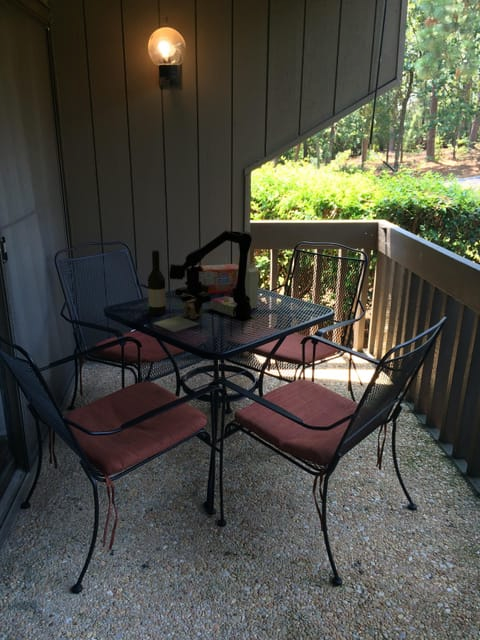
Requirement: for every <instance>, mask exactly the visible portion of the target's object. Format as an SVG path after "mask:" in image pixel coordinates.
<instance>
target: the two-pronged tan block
mask: <svg viewBox="0 0 480 640" xmlns="http://www.w3.org/2000/svg"><path fill="white" fill-rule="evenodd" d="M194 301H196V299H192V298H191V300H189V301H185V302H184V303H183V317H185V318H187V317H189V318H190V319H191V320H194V319H196V315H197V317H198V318H202V317H203V305H202V306H201V309H200V312H199V314H196V311H195V306H194ZM189 307H190V311H189Z"/></svg>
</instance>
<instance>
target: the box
mask: <svg viewBox="0 0 480 640" xmlns="http://www.w3.org/2000/svg"><path fill="white" fill-rule="evenodd" d="M200 265H201V264H200ZM196 266H197V267H198V266H199V265H196ZM191 267H192V266H190V267H189V268H191ZM201 267H203V268H204V269H203V271H199V282H201V283H202V285H205V286H208V287H209V289H208V293H206V292H202V293H199V294H204V293H206V294H209V295H211V294H212V295H213V294H227V293H229V292H231V293H233V285H236V284H237V278H238V268H239V264H237V263H228V264H227V263H226V264H223V263H222V264H207V265H206V264H203V265H201Z"/></svg>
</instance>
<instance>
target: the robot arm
mask: <svg viewBox="0 0 480 640" xmlns="http://www.w3.org/2000/svg"><path fill="white" fill-rule="evenodd" d="M227 241H228V242H232V243H235V244H238V250H239V260H238V266H239V268H238V278H237V284H236V285H233V292H231V298H233V300H234V302H235V303H237V307H236V316H234V317H233V319H236V320H239V321H242V322H246V321H248V320H251V318H252V319H253V318H254V317H253V316H252V309H251V306H250V298H249V297H248V296H247V295H246V286H245V278H246V268H247V264H248V255H249V251H250V250H251V249H250V248H251V245H252V241H253V235H252V234H251V233H250V232H249V231H248V230H245V231H242V232H241V231H232V230H228V229H225V230H223V231H222V232H221V233H220V234H218V235H216V237H214V238H213V239H211V240H210V241H209V242H207V243H206V244H205V245H203V246H201V247H199V248H196V249H194V250H191V251H190V252H189V253H188V254H187V256H185V261H184V262H183V264H175V263H171V264H170V267H169V268H170V269H169V272H168V273H169V279H170V280H177V281H179V280H181V281H182V280H184V278H186V281H185V282H184V285H185V286H186V287H184V286H183V287H179V288H176V289H175V292H174V293H175V294H174V295H176V296H178V297H179V298H180V301H182V303H183V304H184V302H185V301H189V300H192V298H195V300H196V301H194V306H195V311H196V314H195V315H197V314H199V312H200V309H201V306H202V307H203V304H205V303H208V302H210V301H211V300H212V296H211V294H206V293H208V289H209V287H208V286H205V285H202V283H201V282H199V271H203V269H204V268H203V267H201V264H199V263H200V262H201V261H202V260H203V259H204V258H205V257H206V256H207V255H208V254H209V253H211V252H212V251H214V250H215V249H217V248H218V247H219V246H221V245H223V244H224V243H225V242H227ZM190 266H192V267H191V268H190ZM197 266H198V267H197ZM202 292H206V293H204V294H199V293H202ZM189 312H190V307H189Z"/></svg>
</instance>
